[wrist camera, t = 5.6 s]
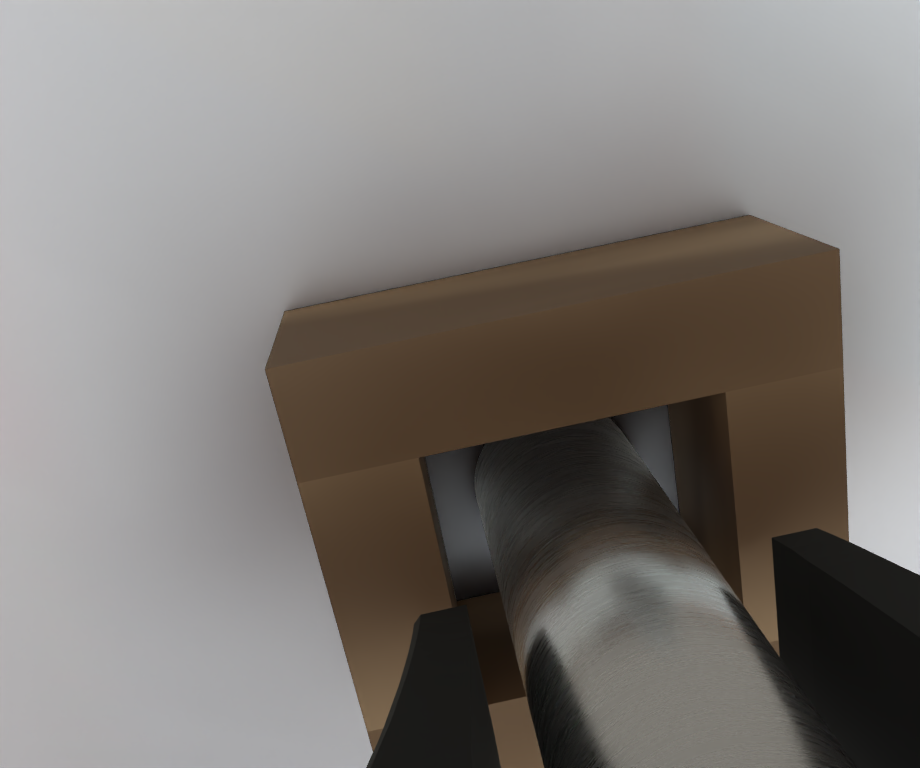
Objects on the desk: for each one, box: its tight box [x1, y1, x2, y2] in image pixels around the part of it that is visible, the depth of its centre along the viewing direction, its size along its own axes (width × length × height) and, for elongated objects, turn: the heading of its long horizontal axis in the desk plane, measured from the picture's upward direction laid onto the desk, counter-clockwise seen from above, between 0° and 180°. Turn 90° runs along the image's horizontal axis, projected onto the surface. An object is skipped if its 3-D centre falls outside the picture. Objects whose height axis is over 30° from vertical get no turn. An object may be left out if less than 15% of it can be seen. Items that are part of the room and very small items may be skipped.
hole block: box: [265, 215, 849, 768], centre depth 15 cm, size 8×8×3 cm
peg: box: [474, 417, 857, 768], centre depth 12 cm, size 3×3×9 cm
